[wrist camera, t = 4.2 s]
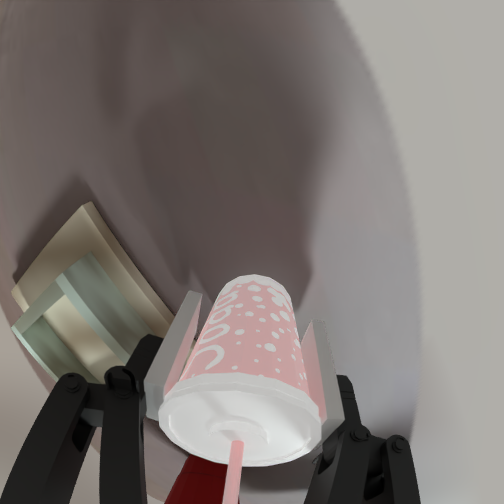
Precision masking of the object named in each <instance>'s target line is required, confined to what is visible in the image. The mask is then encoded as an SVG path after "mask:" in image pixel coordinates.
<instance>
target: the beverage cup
mask: <svg viewBox="0 0 504 504" xmlns="http://www.w3.org/2000/svg"><path fill="white" fill-rule="evenodd" d="M158 415H159V425H160V428H161V429H162V430H163V431H164V433H165V434H166V435H167V436H168V438H169V439H170V440H171V441H172V442H174V443H175V444H177V445H178V446H180V447H181V448H183V449H184V450H186V451H188V452H189V453H191V454H194V455H196V456H199V457H202V458H204V459H207V460H210V461H213V462H217V463H222V464H228V469H227V476H226V483H225V490H224V496H223V503H222V504H238V496H239V487H240V478H241V470H242V466H270V465H275V464H280V463H285V462H289V461H292V460H294V459H297V458H299V457H301V456H303V455H305V454H307V453H309V452H310V451H311V450H312V449H313V448H314V447H315V446H316V445H317V444H318V442H319V441H320V440H321V418H320V417H319V408H318V406H317V405H316V404H315V403H314V402H313V401H312V400H311V399H310V395H309V390H308V384H307V379H306V373H305V368H304V363H303V357H302V352H301V347H300V342H299V337H298V332H297V327H296V322H295V317H294V312H293V307H292V303H291V298H290V296H289V294H288V293H287V291H286V290H285V288H284V287H283V286H282V285H281V284H279V283H278V282H276V281H275V280H273V279H272V278H270V277H265V276H260V275H256V274H253V275H246V276H239V277H237V278H235V279H234V280H232V281H230V282H228V283H227V284H226V285H225V286H224V288H223V289H222V290H221V292H220V293H219V295H218V297H217V299H216V301H215V303H214V305H213V308H212V310H211V312H210V314H209V316H208V318H207V320H206V323H205V325H204V327H203V329H202V331H201V334H200V336H199V338H198V340H197V342H196V344H195V347H194V349H193V351H192V353H191V355H190V358H189V360H188V362H187V364H186V366H185V369H184V371H183V373H182V375H181V377H180V380H179V382H177V383H176V384H175V385H174V386H173V388H172V389H171V390H170V391H169V392H168V393H167V394H166V396H165V401H164V403H163V404H162V405H161V406H160V408H159V411H158Z"/></svg>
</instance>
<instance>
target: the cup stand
mask: <svg viewBox="0 0 504 504" xmlns="http://www.w3.org/2000/svg"><path fill="white" fill-rule="evenodd" d="M11 294H12V295H13V297H14V298H15V300H16V301H17V303H18V304H19V306H20V307H21V309H22V310H23V312H24V313H23V315H22V316H21V317H20V318H19V319H18V320H17V322H16V323H15V324H14V325H13V326H12V327H11V329H12V330H13V332H14V333H15V334H16V336H17V337H18V338H19V340H20V341H21V342H22V344H23V345H24V346H25V347H26V349H27V350H28V351H29V352H30V353H31V355H32V356H33V357H34V358H35V359H36V360H37V362H38V363H39V364H40V365H41V366H42V367H43V368H44V369H45V371H46V372H47V373H48V374H49V375H50V376H51V377H52V378H53V379H54V380H55V381H56V382H57V381H58V380H59V378H60V377H61V376H62V375H64V374H66V373H72V372H74V373H78V374H80V375H82V376H83V377H84V378H85V379H86V381H87V382H89V383H96V384H105V380H104V375H105V372H106V371H107V370H108V369H109V368H111V367H114V366H125V365H126V363H127V362H128V360H129V358H130V356H131V355H132V353H133V351H134V349H135V348H136V346H137V344H138V343H139V341H140V339H141V338H143V337H144V336H146V335H147V334H152V335H155V336H158V337H161V338H165V336H166V334H167V332H168V330H169V328H170V326H171V324H172V322H173V320H174V318H175V316H174V315H173V314H172V313H171V311H170V310H169V309H168V308H167V306H166V305H165V304H164V303H163V302H162V300H161V299H160V298H159V296H158V295H157V294H156V293H155V291H154V290H153V289H152V288H151V286H150V285H149V284H148V282H147V281H146V280H145V278H144V277H143V276H142V274H141V273H140V272H139V270H138V269H137V268H136V266H135V265H134V264H133V262H132V261H131V259H130V258H129V257H128V255H127V254H126V252H125V251H124V250H123V248H122V247H121V245H120V244H119V242H118V241H117V239H116V238H115V237H114V235H113V234H112V232H111V231H110V229H109V228H108V226H107V225H106V223H105V222H104V220H103V218H102V217H101V215H100V214H99V212H98V211H97V209H96V207H95V206H94V204H93V203H92V201H90V202H88V203H86V204H83V205H82V206H81V207H80V208H79V209H78V210H77V211H76V212H75V213H74V214H73V215H72V216H71V217H70V218H69V220H68V221H67V222H66V223H65V224H64V225H63V226H62V227H61V228H60V230H59V231H58V232H57V233H56V234H55V235H54V237H53V238H52V239H51V240H50V241H49V242H48V244H47V245H46V246H45V247H44V249H43V250H42V251H41V252H40V254H39V255H38V256H37V257H36V259H35V260H34V261H33V262H32V264H31V265H30V266H29V268H28V269H27V270H26V272H25V273H24V275H23V276H22V277H21V279H20V280H19V282H18V283H17V284H16V286H15V287H14V289H13V290H12V292H11ZM195 344H196V341H195V340H194V339H193V342H192V344H191V347H190V350H189V353H188V355H187V358H186V361H185V364H184V366H183V369H182V372H181V375H182V373H183V371H184V369H185V366H186V364H187V362H188V360H189V358H190V355H191V353H192V351H193V349H194V347H195ZM181 375H180V377H181ZM180 377H179V380H180ZM179 380H178V382H179Z"/></svg>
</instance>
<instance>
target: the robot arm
mask: <svg viewBox="0 0 504 504" xmlns="http://www.w3.org/2000/svg"><path fill="white" fill-rule="evenodd" d="M202 295H203V294H202V293H199V292H195V291H191V290H189V291H188V293H187V295H186V297H185V299H184V301H183V303H182V305H181V306H180V308H179V310H178V312H177V314H176V316H175V318H174V320H173V322H172V324H171V326H170V328H169V330H168V332H167V334H166V336H165V338H161V337H158V336H155V335H152V334H147V335H146V336H144V337H143V338H141V339H140V341H139V343H138V344H137V346H136V348H135V349H134V351H133V353H132V355H131V356H130V358H129V360H128V362H127V363H126V365H125V366H114V367H111V368H109V369H108V370H107V371H106V372H105V375H104V380H105V384H96V383H89V382H87V381H86V379H85V378H84V377H83V376H82V375H80V374H78V373H74V372H72V373H66V374H64V375H62V376H61V377H60V378H59V380H58V381H57V383H56V385H55V386H54V388H53V390H52V392H51V393H50V395H49V397H48V398H47V400H46V402H45V404H44V406H43V407H42V409H41V411H40V413H39V415H38V416H37V418H36V420H35V422H34V424H33V426H32V428H31V430H30V432H29V434H28V436H27V438H26V440H25V442H24V444H23V446H22V448H21V450H20V452H19V455H18V457H17V459H16V461H15V463H14V466H13V468H12V471H11V473H10V475H9V477H8V480H7V483H6V485H5V487H4V490H3V493H2V496H1V498H0V504H69V502H70V499H71V496H72V493H73V490H74V487H75V484H76V481H77V478H78V475H79V472H80V469H81V467H82V464H83V461H84V458H85V456H86V453H87V450H88V448H89V445H90V443H91V440H92V437H93V435H94V432H95V430H96V427H102V435H101V450H100V477H99V494H100V504H147V493H146V481H145V465H144V432H143V419H144V416H145V414H146V416H147V418H150V419H153V420H156V421H159V415H158V411H159V408H160V406H161V405H162V404H163V403H164V401H165V396H166V394H167V393H168V392H169V391H170V390H171V389H172V388H173V386H174V385H175V384H176V383H177V382H178V380H179V377H180V375H181V372H182V369H183V366H184V364H185V361H186V358H187V355H188V353H189V350H190V347H191V344H192V342H193V339H194V336H195V334H196V330H197V324H198V318H199V312H200V306H201V300H202ZM300 347H301V352H302V357H303V363H304V368H305V373H306V379H307V384H308V390H309V395H310V399H311V400H312V401H313V402H314V403H315V404H316V405H317V406H318V408H319V417H320V418H321V440H320V441H319V442H318V444H317V445H316V446H315V447H314V448H313V449H314V450H317V449H318V448H319V447H320V446H321V445H323V452H322V453H321V454H320V455H319V456H318V457H317V458H315V459H314V461H313V462H312V463H313V464H315V463H316V462H317V465H316V468H315V471H314V474H313V478H312V481H311V484H310V487H309V490H308V493H307V496H306V498H305V501H304V504H421V502H420V496H419V490H418V484H417V479H416V473H415V468H414V463H413V458H412V454H411V449H410V445H409V443H408V441H407V440H406V439H405V438H404V437H402V436H400V435H392V436H391V437H389V438H388V439H387V440H386V439H382V438H379V437H375V436H373V435H371V433H370V431H369V430H368V429H367V428H366V427H365V426H363V425H362V424H361V420H360V416H359V411H358V407H357V403H356V400H355V399H356V398H355V394H354V390H353V386H352V383H351V382H350V380H349V379H348V377H347V376H343V375H336V372H335V367H334V362H333V358H332V353H331V349H330V344H329V340H328V336H327V331H326V327H325V323H324V321H319V320H314V319H311V322H310V324H309V326H308V328H307V331H306V333H305V335H304V337H303V339H302V342H301V344H300Z"/></svg>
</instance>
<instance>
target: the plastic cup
mask: <svg viewBox="0 0 504 504" xmlns="http://www.w3.org/2000/svg"><path fill="white" fill-rule="evenodd" d="M227 469H228V464H222V463H217V462H213V461H210V460H207V459H204V458H202V457H199V456H196V455H194V454H190V455H189V457H188V458H187V460H186V462H185V464H184V466H183V468H182V470H181V473H180V474H179V475H178V477H177V479H176V481H175V483H174V485H173V487H172V489H171V491H170V493H169V495H168V497H167V499H166V501H165V503H164V504H222V503H223V496H224V490H225V483H226V476H227ZM238 504H239V496H238Z"/></svg>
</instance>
